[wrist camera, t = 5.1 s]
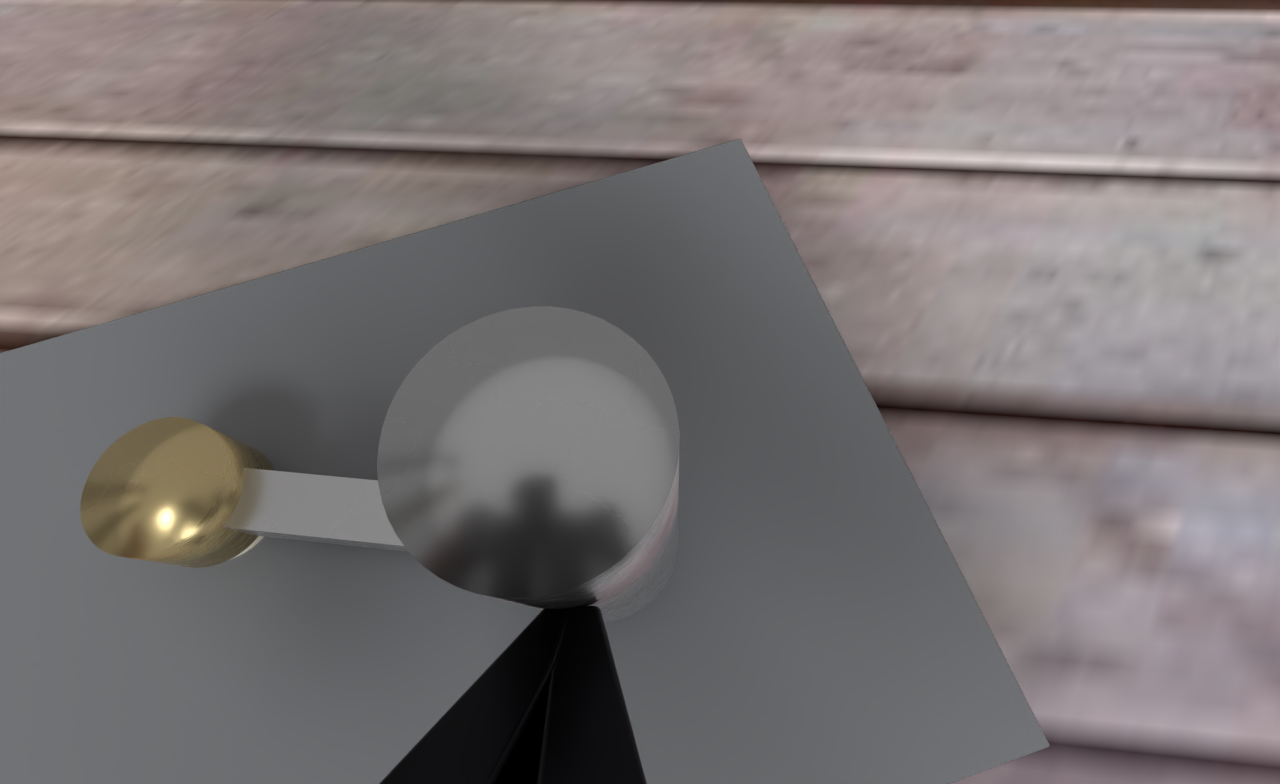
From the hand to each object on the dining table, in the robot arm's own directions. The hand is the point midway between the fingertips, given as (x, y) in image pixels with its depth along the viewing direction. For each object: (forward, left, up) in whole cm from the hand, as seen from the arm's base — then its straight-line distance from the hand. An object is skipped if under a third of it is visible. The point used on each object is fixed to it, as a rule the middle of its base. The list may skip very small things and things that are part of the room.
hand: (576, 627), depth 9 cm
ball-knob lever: (-4, +4, -5) cm, 8 cm away
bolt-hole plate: (-4, +4, -7) cm, 9 cm away
